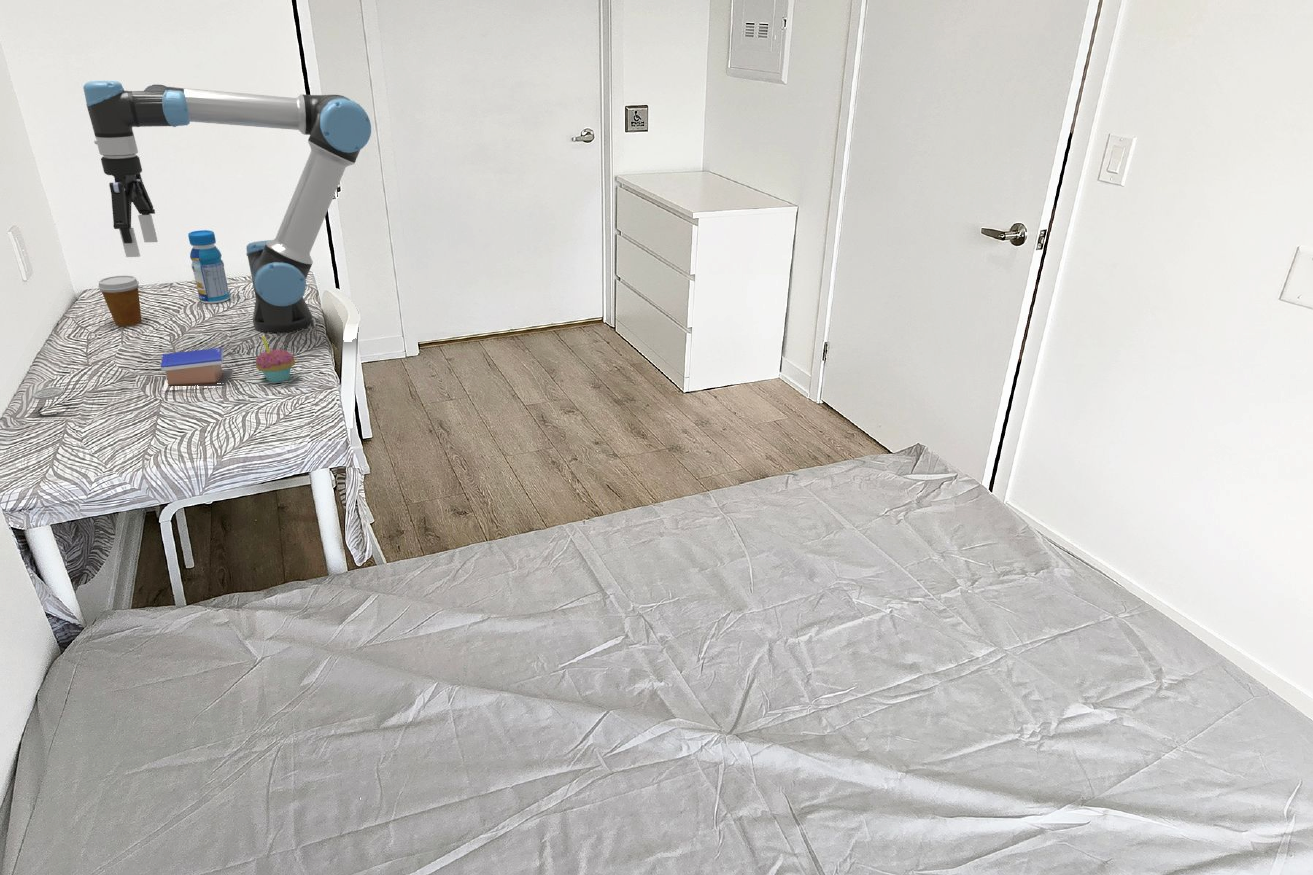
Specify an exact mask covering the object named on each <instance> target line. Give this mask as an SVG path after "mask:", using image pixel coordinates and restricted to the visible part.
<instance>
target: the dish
mask: <svg viewBox="0 0 1313 875" xmlns="http://www.w3.org/2000/svg"><path fill="white" fill-rule="evenodd" d="M222 370H223V367H222V364H220V365H212V366H203V367H194V368H186V369H177V370H168V371H164V372H165V375H166V378H167V380H168V384H169V386H195V385H214V384H217V383H218V381H219V379H220V378H221V376H222V374H223V372H222Z"/></svg>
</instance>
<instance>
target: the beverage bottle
mask: <svg viewBox="0 0 1313 875" xmlns="http://www.w3.org/2000/svg"><path fill="white" fill-rule="evenodd" d="M187 235H188V241H189V244H190V246H192V248H191V249H190V250H191V251H190V252H189V258H190V260H191V270H192V271H193V272H192V273H193V276H194V280H195V285H196V288H197V294H198V299H199V301H200V302H201V303H203V304H207V305H208V304H212V305H213V304H221V303H224V302H226V301H229V300H230V298H231V296H230V292H229V286H228V281H227V276H226V272H225V263H224V260H222V253H221V251H220V249H218V248H219V247H217V246H216V245H215V244H216V241H217V240H216V236H215V233H214V231H213V230H207V229H202V230H199V229H198V230H193V231H190V232H189V233H188V234H187Z"/></svg>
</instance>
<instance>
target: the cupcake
mask: <svg viewBox="0 0 1313 875" xmlns="http://www.w3.org/2000/svg"><path fill="white" fill-rule="evenodd" d="M260 334H261V340H262V343H263V345H264V347H265V351H263V352H261V353H259V355H258V356H257V357H256V358H255V361H254V362H255V367H256V369H257V370H259V371H261V372H262V374H263V375H264V377H265V378H266V380H267V381H268V382H272V383H279V382H283V381H286V380H287V379H288V378H289V379H290V374H291V370H292V368H293V366H295V365H296V359H295V357H294V355H293V354H292V353H291V352H290V351H287V350H285V349H281V348H280V349H278V348H274V349H270V348H269V345H268V342H267V339H266V336H265V335H263V333H260ZM289 379H288V380H289ZM288 380H287V381H288Z"/></svg>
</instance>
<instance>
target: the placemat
mask: <svg viewBox="0 0 1313 875" xmlns="http://www.w3.org/2000/svg"><path fill="white" fill-rule="evenodd" d="M234 371H235V370H234V369H224V370H223V369H222V372H223V374H222V376H221V378H220V379H219V381H218V383H221V384H214V385H198V386H224V387H222V388H221V389H224V388H225V386H226V384H227V383H228V381H229V380H230V378H231V376H232V374H233V373H234ZM222 383H224V384H222ZM225 383H226V384H225ZM196 386H197V385H196ZM208 389H209V390H211V389H213V388H208ZM208 389H207V388H204V389H203V390H208ZM216 389H219V388H218V387H217V388H216ZM196 390H198V389H197V388H196Z"/></svg>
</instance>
